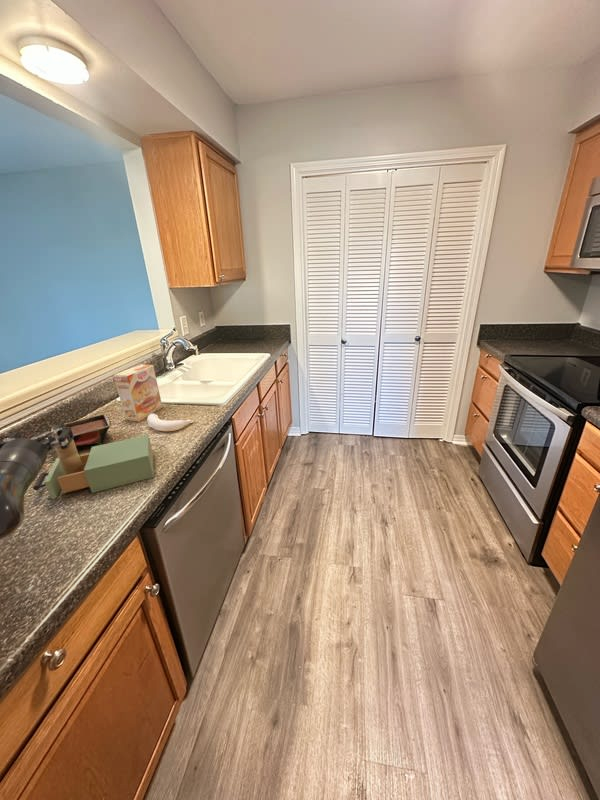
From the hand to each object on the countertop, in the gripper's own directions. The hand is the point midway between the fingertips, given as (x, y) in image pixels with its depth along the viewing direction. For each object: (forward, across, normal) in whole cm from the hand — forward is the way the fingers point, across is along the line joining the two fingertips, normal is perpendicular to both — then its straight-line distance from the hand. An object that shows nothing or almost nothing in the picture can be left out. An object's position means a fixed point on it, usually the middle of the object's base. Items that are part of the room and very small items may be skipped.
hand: (41, 430), depth 75 cm
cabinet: (+11, -12, +22) cm, 28 cm away
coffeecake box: (+56, -17, +22) cm, 63 cm away
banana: (+40, -26, +22) cm, 53 cm away
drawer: (+11, 0, +21) cm, 24 cm away
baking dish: (+38, +2, +22) cm, 44 cm away
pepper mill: (+11, 0, +20) cm, 23 cm away
